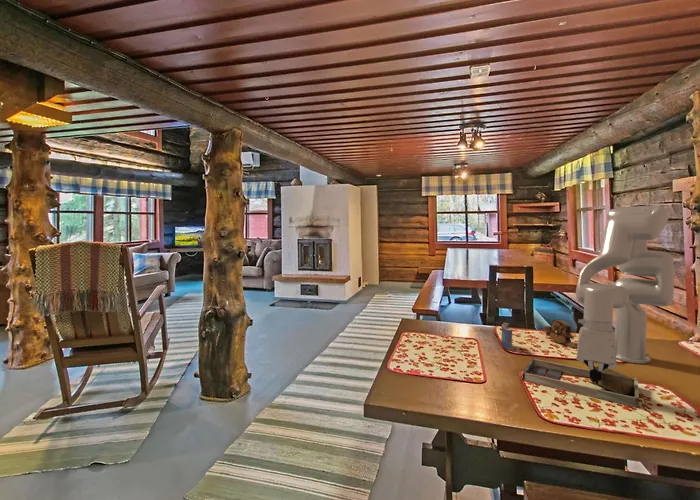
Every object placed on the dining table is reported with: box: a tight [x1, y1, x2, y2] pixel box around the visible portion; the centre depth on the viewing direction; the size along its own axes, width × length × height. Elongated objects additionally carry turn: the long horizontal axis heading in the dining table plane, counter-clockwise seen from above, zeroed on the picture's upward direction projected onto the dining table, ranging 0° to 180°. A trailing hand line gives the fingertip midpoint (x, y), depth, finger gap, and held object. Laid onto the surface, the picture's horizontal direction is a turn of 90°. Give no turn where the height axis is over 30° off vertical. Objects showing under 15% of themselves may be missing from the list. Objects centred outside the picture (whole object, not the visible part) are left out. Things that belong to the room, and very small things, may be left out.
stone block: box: [588, 365, 634, 396], centre depth 111 cm, size 6×12×5 cm, turn 15°
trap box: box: [521, 358, 640, 408], centre depth 115 cm, size 16×31×3 cm, turn 51°
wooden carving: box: [544, 319, 575, 345], centre depth 156 cm, size 16×5×10 cm, turn 10°
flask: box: [500, 322, 513, 351], centre depth 151 cm, size 9×3×11 cm, turn 172°
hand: (595, 381), depth 111 cm, fingers closed
